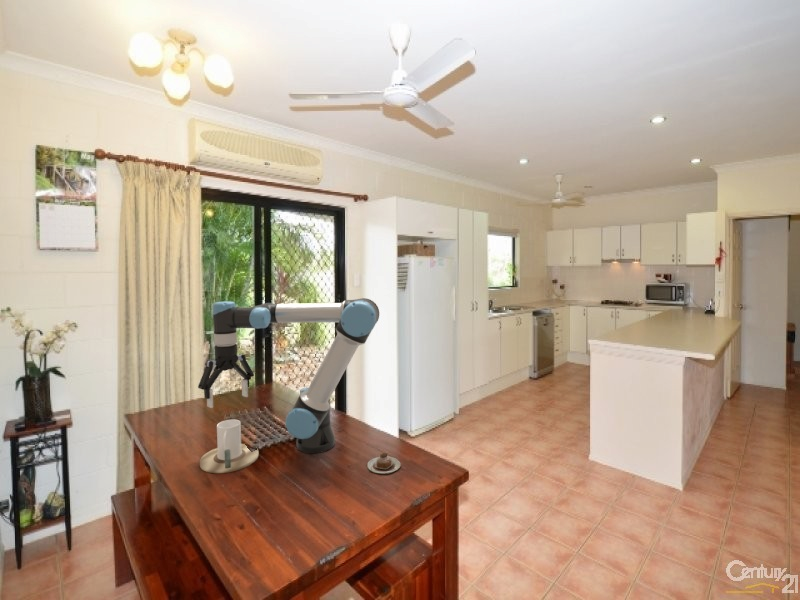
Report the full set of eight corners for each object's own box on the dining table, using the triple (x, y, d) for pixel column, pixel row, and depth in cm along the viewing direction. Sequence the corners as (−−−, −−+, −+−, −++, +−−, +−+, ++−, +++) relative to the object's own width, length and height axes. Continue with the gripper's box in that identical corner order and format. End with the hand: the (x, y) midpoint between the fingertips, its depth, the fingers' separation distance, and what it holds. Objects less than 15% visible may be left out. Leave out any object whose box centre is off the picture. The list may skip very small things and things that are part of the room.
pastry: (406, 465, 143) (406, 452, 142) (387, 480, 133) (387, 467, 133) (380, 456, 150) (380, 444, 149) (360, 469, 140) (360, 457, 139)
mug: (234, 464, 139) (233, 431, 138) (209, 465, 139) (208, 432, 138) (245, 449, 151) (244, 418, 150) (222, 449, 150) (221, 419, 149)
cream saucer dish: (267, 448, 155) (267, 430, 154) (242, 474, 135) (241, 454, 134) (219, 445, 157) (218, 428, 156) (187, 471, 137) (186, 451, 136)
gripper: (250, 337, 154) (252, 390, 156) (185, 349, 134) (188, 409, 136) (262, 340, 150) (264, 394, 152) (196, 351, 130) (199, 414, 132)
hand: (228, 401), depth 144 cm, fingers open, 13 cm apart
